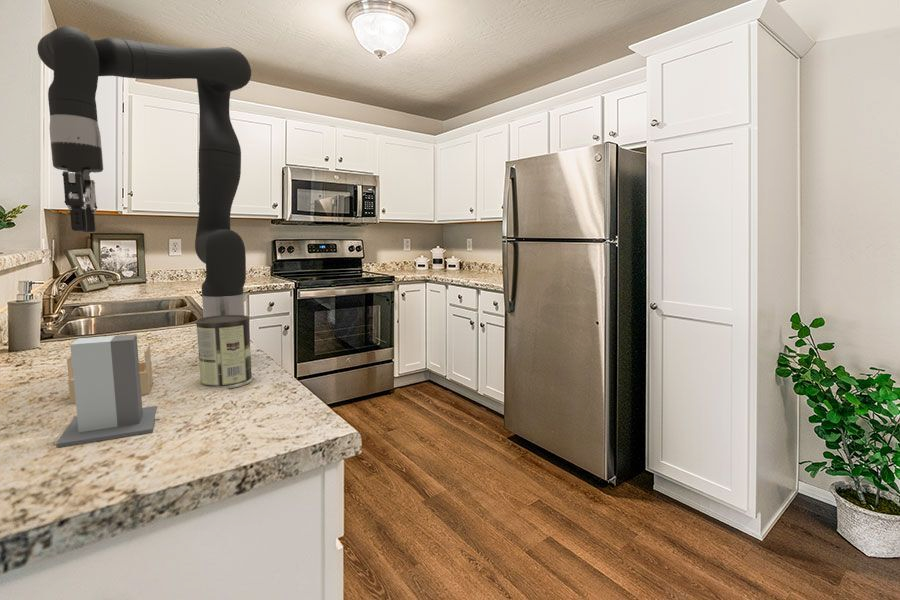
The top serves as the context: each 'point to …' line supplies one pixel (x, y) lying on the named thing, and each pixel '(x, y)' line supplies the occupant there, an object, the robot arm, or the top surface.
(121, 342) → the box
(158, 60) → the robot arm
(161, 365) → the top surface
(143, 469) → the top surface
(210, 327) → the coffee can
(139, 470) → the top surface
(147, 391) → the carton
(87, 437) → the mat
